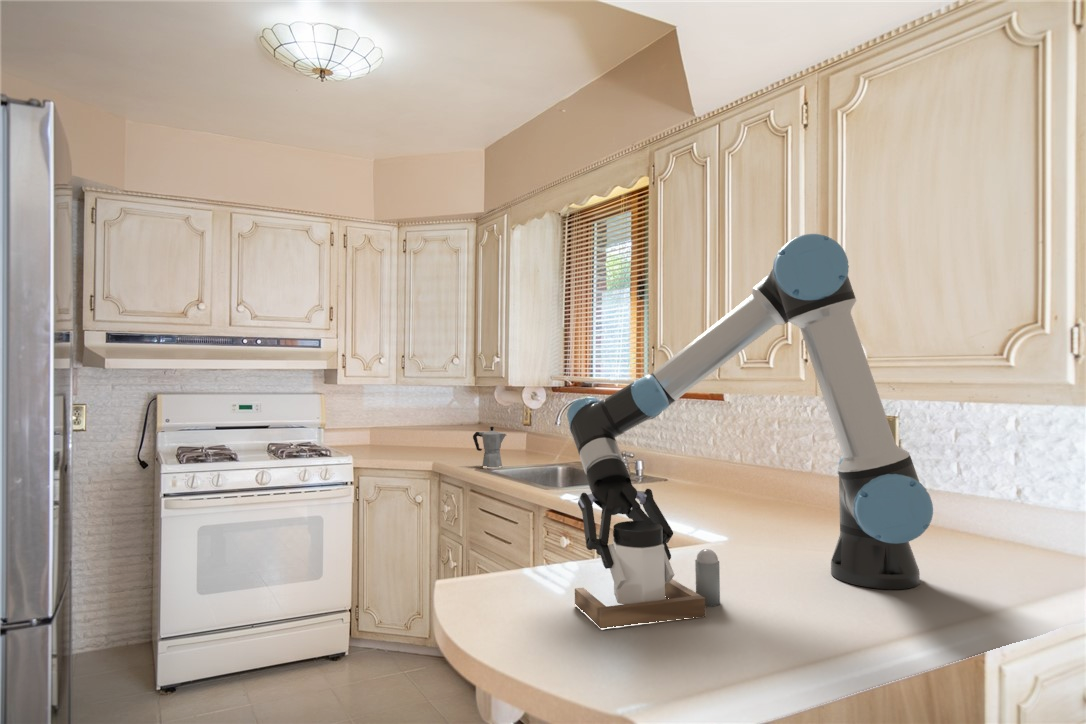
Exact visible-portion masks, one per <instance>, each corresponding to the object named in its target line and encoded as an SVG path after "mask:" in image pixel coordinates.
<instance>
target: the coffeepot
mask: <svg viewBox="0 0 1086 724" xmlns="http://www.w3.org/2000/svg"><path fill="white" fill-rule="evenodd" d="M494 429H495V428H494V426H490V430H488V431H486V432H484V431H476V432H475V433H474V434H473V435H472V439H473V442H474V445H475V448H476V451H480V452H482V451H483V449H484V453H483V459H482V465H483V466H487V467H499V466H502V467H503V463H502V456H501V445H502V443H503V440H504V439H505V437H506V436H507V433H503V432H499V431H495V430H494ZM478 437H480V438H482V444H483V448H480V443H479V441H478Z"/></svg>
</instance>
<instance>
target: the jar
mask: <svg viewBox="0 0 1086 724" xmlns="http://www.w3.org/2000/svg"><path fill="white" fill-rule="evenodd" d="M612 536H613V541H612V544H614V547H615V550H616V554H617V556H618V559H619V562H620V565H621V568H622V571H623V574H624V577H625V582H624V584H623V586H622V587H621V589H616V587H615V584H614V583H613V592H614V593H613V595H614V597H615V601H616V603H617V604H618V605H623V604H631V603H640V602H648V601H656V600H665V599H666V598H665V562H664V544H663V543H662V542H663V527H662V526H661V525H660V524H658V523H654V522H647V521H633V520H626V521H621V522H617V523H615V524H614V525H613V531H612Z"/></svg>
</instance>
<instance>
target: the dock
mask: <svg viewBox="0 0 1086 724" xmlns="http://www.w3.org/2000/svg"><path fill="white" fill-rule="evenodd" d="M665 596H666V597H667V598H669V599H667V598H665V600H656V601H648V602H640V603H631V604H618V605H617V604H616V605H610V606H608V605H607V606H606V605H605V604H604V603H603V602H602V601H601V600H599V599H598V598H596V597H595V596H594V595H593V594H591V593H590V592H589V591H588V590H587V589H585V587H577V588H574V605H575V604H576V605H577V606H578V607H579V608H580V609H581V610H583V612H585V613H586V614H587V615H588V616H589V617H590V618H591V619H592V620H593V621H594V622H595V623H596V624H597V625H598V626H599V627H600V628H607V627H613V626H614V627H616V626H624V625H631V624H638V623H649V622H656V621H657V622H659V621H667V620H676V619H684V618H693V617H694V619H697V618H696V617H701V618H705V617H706V606H705V598H704V597H702V596H701V595H699V594H697V593H696V591H694V590H692V589H691V588H688V587H687V586H685V585H683V584H682V583H679V582H678V581H677V580H675V579H673V578H672V579H671V581H670V583H667V584H665Z"/></svg>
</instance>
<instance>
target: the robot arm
mask: <svg viewBox="0 0 1086 724" xmlns="http://www.w3.org/2000/svg"><path fill="white" fill-rule="evenodd" d="M849 268H850V266H849V259H848V257H847V253H846V252H845V250H844V248H843V247H842V246H841V244H840V243H838V241H836V240H835V239H833V238H831V237H829V236H828V235H825V234H824V235H823V234H820V233H806V234H802V235H798V236H795V237H794V238H793V239H791V240H789V241H788V242H787V243H785V244H784V245H783V246H782V247H781V248H780V249H779V250H778V251H777V254H776V255H775V258H774V260H773V266H772V269H771V270H770V271H769V272H768V273H767V275H766V276H765V277H764V278H763V279H762V280H761V281H759V283H757V284H755V286H753V287H752V289H751V290H752V291H751V294H750V296H749V297H747V298H746V299H744V300H743V301H742V302H741V303H740V304H738V305H737V306H736V307H735V308H733V309H732V310H730V312H728V313H727V314H726V315H724V316H723V317H722V318H720V319H719V320H718V321H716V322H715V323H714V324H713V325H711V326H709V328H708V329H706V330H705V331H704V332H702V333H701V334H700V335H699V336H698V337H695V339H693V340H692V341H691V342H690V343H689V344H687V345H685V347H683V348H682V349H681V350H679V351H678V352H677V353H676V354H675V355H673V356H672V357H670V358H669V359H668V360H667V361H665V363H663V364H661V365H660V366H659V367H658V368H656V370H654V371H653V372H651V374H647V375H644V376H643V377H641V378H638V379H635V380H633V381H632V382H631V383H630V384H627V385H626V386H624V387H623V388H621V389H619V390H618V391H615V393H612V394H611V395H610V396H608V397H606V398H604V399H602V400H599V399H598V398H596V397H594V396H586V397H585V398H582V397H581V398H578V399H576V400H575V401H573V402H571V404H570V406H569V407H568V409H567V413H566V415H567V416H566V417H567V421H568V426H569V431H570V434H571V436H572V438H573V441H574V444H575V447H576V450H577V453H578V456H579V459H580V462H581V465H582V468H583V471H584V474H585V475H586V480H587V483H588V486H589V490H590V492H591V493H589V494H588V493H586V492H582V493H580V496H579V499H578V501H577V505H578V507H579V509H580V511H581V514H582V521H583V528H584V529H583V532H584V539H585V547H586V549H587V550H588V551H592V550H596V551H595V552H596V554H597V555H598V556H600V558H601V561H602V564H603V567H604V568H605V569H607V570H608V569H609V570H610V573H611V578H612V580H613V585H614V584H615V587H616V589H621V587H622V586H623V584H624V582H625V577H624V574H623V571H622V568H621V565H620V562H619V559H618V556H617V554H616V550H615V547H614V544H613V543H610V544H609V541H610V539H609V537H610V531H611V523H612V516H616V515H626V517H627V518H628V519H629V520H631V521H647V522H654V523H658V524H660V525H661V526H662V527H663V542H662V543H663V544H664V562H665V584H667V583H670V581H671V579H673V578H674V576H675V573H674V570H673V567H672V564H671V563H670V561H671V558H672V553H671V551H670V549H669V546H668V543H669V542H670V540H671V539H672V537H673V535H674V531H673V530H672V529H673V528H672V527H671V526H670V524H669V523H668V521H667V520H666V518H665V516H664V514H663V512H662V511H661V509H660V507H659V506H658V504H657V502H656V500H655V499H654V495H653V491H652V489H651V488H645V491H643V490H642V491H641V490H637V488H636V487H635V486H634V485H633V484H632V479H631V475H630V473H629V471H628V468H627V466H626V463H625V462H624V461H625V460H624V458H623V455H622V453H621V450H620V448H619V446H618V442H617V440H616V438H617V437H619V436H621V435H623V434H624V433H626V432H628V431H629V430H631V429H634V428H635V427H637V426H639V425H642V424H643V423H645V422H647V421H649V420H653V419H656V417H658V416H659V415H661V413H662V412H663V411H666V410H667V409H668V408H669V407H670V406H671V405H673V403H674V402H676V401H677V400H678V399H680V398H682V396H684V395H685V394H686V393H687V392H689V391H690V390H692V389H693V388H695V386H697V385H698V384H700V383H701V382H703V381H704V380H705V379H706V378H708V377H709V376H710V375H711V374H713V373H714V372H715V371H717V370H718V369H720V367H722V366H724V365H725V364H726V363H727V362H728V361H730V360H732V358H734V357H735V356H736V355H738V354H740V353H741V352H742V351H743V350H744V349H746V348H748V347H749V345H752V343H754V342H755V341H756V340H758V339H759V338H760V337H762V336H763V335H764V334H765V333H767V332H768V331H769V330H771V329H772V328H773V327H775V326H777V325H779V326H780V325H781V326H784V325H786V324H787V323H790V324H792V325H794V326H796V327H798V328H799V329H800V332H801V335H802V337H803V340H804V343H805V347H806V350H807V353H808V355H809V359H810V362H811V364H812V367H813V370H814V374H815V376H816V380H817V382H818V385H819V388H820V391H821V394H822V397H823V401H824V403H825V407H826V409H827V413H828V415H829V418H830V420H831V424H832V427H833V431H834V433H835V436H836V438H837V442H838V444H839V445H838V446H839V448H840V451H841V454H842V457H840V459H839V461H838V467H837V474H838V490H839V492H838V493H839V499H838V501H839V502H838V503H839V536H838V539H837V543H836V546H835V548H834V551H833V554H832V558H831V560H830V574H831V575H832V577H834V578H835V579H837V580H839V581H841V582H844V583H848V584H851V585H856V586H861V587H863V588H864V587H865V588H871V589H872V588H873V589H880V590H882V589H883V590H905V589H912V588H916V587H917V586H919V585H920V581H921V580H920V578H921V577H920V568H919V565H918V563H917V561H916V558H915V555H914V552H913V549H912V547H911V545H910V542H912V541H914V540H916V539H917V538H919V537H921V536H922V535H923V534H924V533H925V532H926V530H927V529H928V528H929V526H930V524H932V523H931V522H932V519H933V515H934V504H933V502H932V498H931V495H930V493H929V492H928V491H927V488H926V487H925V486H924V485H923V484H922V483H921V482H920V480H919V477H918V475H917V471H916V469H915V466H914V462H913V459H912V457H911V455H910V454H911V453H910V452H909V451H907V450H905V449H903V448H902V447H900V446H898V445H897V444H896V440H895V438H894V435H893V433H892V429H891V427H890V423H889V420H888V417H887V414H886V412H885V409H884V406H883V403H882V400H881V397H880V393H879V392H878V388H877V385H876V383H875V380H874V377H873V374H872V372H871V368H870V365H869V363H868V359H867V357H866V353H865V350H864V348H863V345H862V342H861V339H860V336H859V333H858V331H857V328H856V325H855V322H854V318H853V315H852V310H853V307H854V305H855V303H856V302H857V299H856V295H855V292H854V289H853V287H852V284H851V281H850V278H849ZM636 499H637V500H636ZM593 504H595V505H596V506H598V507H599V508H600V509H601V516H600V519H601V521H600V526H599V534H598V538H597V530H596V523H595V522H596V521H595V515H594V508H593ZM641 506H642V507H643V509H642V508H641Z"/></svg>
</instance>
